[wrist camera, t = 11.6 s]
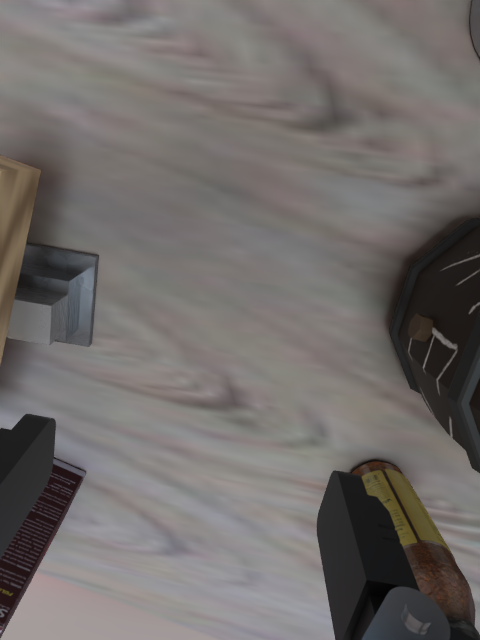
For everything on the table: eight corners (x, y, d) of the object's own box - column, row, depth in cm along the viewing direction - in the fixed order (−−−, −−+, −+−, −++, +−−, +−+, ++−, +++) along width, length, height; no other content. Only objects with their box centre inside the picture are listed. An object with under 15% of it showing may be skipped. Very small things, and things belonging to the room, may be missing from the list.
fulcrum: (-48, 229, 37) (-113, 242, 30) (98, 255, 37) (67, 274, 31) (-46, 320, 39) (-105, 351, 32) (91, 343, 40) (61, 378, 33)
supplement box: (41, 451, 43) (-64, 600, 28) (88, 470, 44) (8, 627, 29) (12, 514, 46) (-100, 682, 31) (56, 532, 47) (-32, 705, 32)
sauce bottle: (340, 508, 45) (410, 748, 27) (346, 456, 43) (425, 675, 25) (405, 509, 45) (520, 749, 27) (413, 457, 43) (544, 677, 25)
